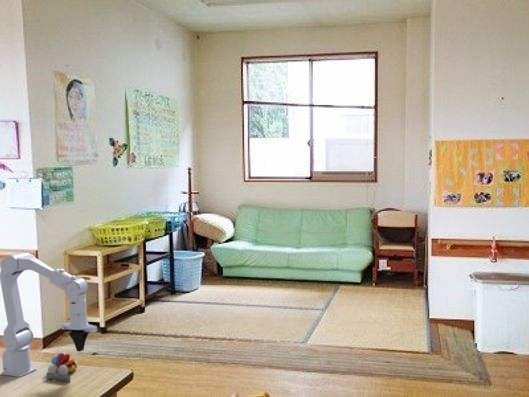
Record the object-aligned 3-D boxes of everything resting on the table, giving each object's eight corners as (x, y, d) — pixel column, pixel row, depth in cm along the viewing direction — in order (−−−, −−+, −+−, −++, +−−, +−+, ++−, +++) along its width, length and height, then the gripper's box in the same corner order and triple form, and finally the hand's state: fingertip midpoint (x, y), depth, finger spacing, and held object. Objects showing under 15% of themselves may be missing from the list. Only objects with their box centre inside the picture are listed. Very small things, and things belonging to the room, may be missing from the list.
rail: (47, 379, 202) (46, 372, 202) (48, 378, 202) (48, 371, 202) (68, 383, 198) (68, 376, 197) (70, 382, 198) (70, 375, 198)
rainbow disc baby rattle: (67, 378, 203) (66, 357, 202) (44, 376, 205) (43, 356, 205) (81, 369, 211) (80, 350, 211) (58, 367, 214) (57, 348, 213)
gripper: (102, 311, 203) (103, 349, 204) (70, 308, 209) (72, 345, 210) (88, 316, 196) (90, 355, 197) (56, 313, 202) (58, 351, 203)
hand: (80, 350), depth 203 cm, fingers closed
